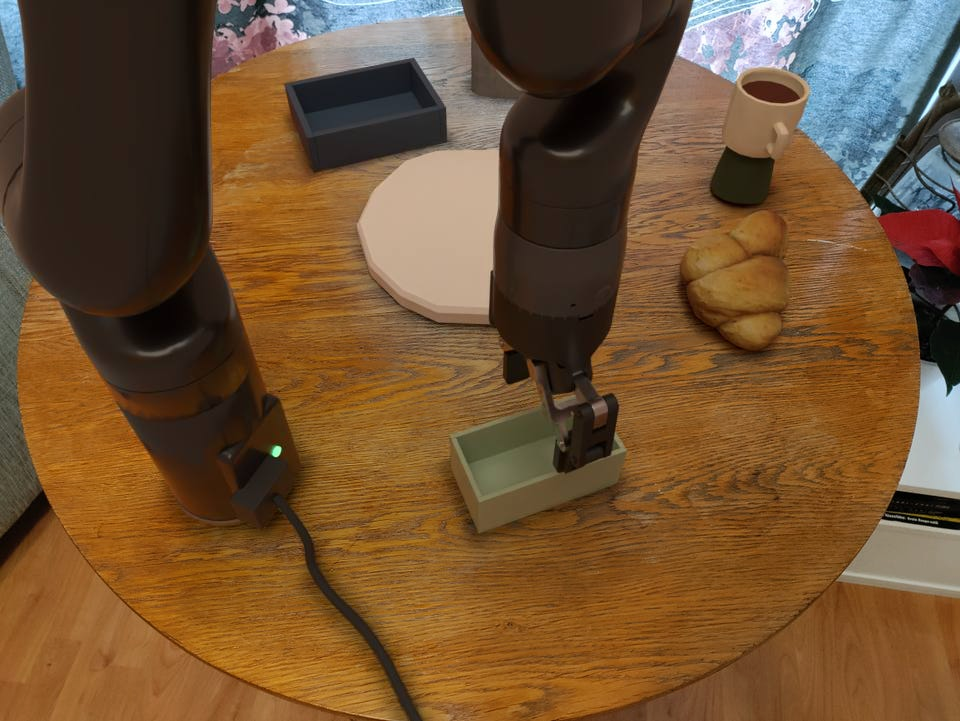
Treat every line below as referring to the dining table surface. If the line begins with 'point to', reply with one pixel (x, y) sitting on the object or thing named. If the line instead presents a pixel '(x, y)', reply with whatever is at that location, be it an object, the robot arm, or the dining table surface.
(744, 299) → the bread roll
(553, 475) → the small bin
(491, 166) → the decorative plate
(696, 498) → the dining table surface
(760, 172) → the character mug
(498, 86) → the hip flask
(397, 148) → the big bin
